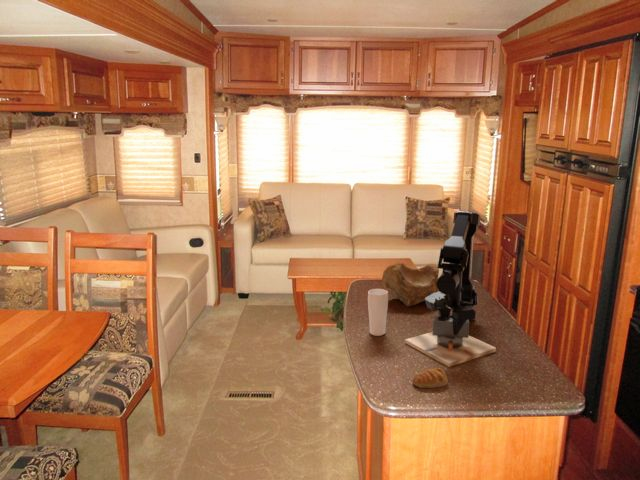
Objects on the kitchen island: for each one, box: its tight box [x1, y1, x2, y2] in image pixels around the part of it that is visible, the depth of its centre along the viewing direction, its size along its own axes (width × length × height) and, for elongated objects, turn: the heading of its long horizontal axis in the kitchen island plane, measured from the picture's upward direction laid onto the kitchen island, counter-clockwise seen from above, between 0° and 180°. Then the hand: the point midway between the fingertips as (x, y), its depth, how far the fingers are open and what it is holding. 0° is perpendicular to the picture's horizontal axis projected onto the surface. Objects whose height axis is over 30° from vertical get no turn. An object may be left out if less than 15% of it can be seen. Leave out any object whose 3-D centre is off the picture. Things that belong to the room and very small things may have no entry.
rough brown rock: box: [381, 261, 440, 307], centre depth 209 cm, size 23×17×15 cm
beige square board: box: [404, 331, 497, 368], centre depth 169 cm, size 20×20×1 cm
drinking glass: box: [367, 288, 389, 337], centre depth 178 cm, size 7×7×15 cm
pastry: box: [412, 367, 449, 389], centre depth 146 cm, size 9×7×4 cm
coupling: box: [432, 315, 470, 351], centre depth 166 cm, size 11×11×8 cm
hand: (449, 330), depth 168 cm, fingers closed on coupling, 6 cm apart
